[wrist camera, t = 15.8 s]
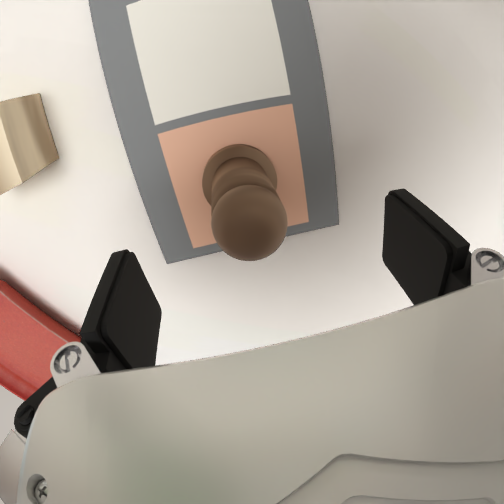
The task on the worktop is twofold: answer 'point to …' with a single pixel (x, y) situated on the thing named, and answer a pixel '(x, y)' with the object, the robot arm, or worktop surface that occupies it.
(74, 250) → the worktop surface
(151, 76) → the board
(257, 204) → the pawn
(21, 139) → the die
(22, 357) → the plant saucer
